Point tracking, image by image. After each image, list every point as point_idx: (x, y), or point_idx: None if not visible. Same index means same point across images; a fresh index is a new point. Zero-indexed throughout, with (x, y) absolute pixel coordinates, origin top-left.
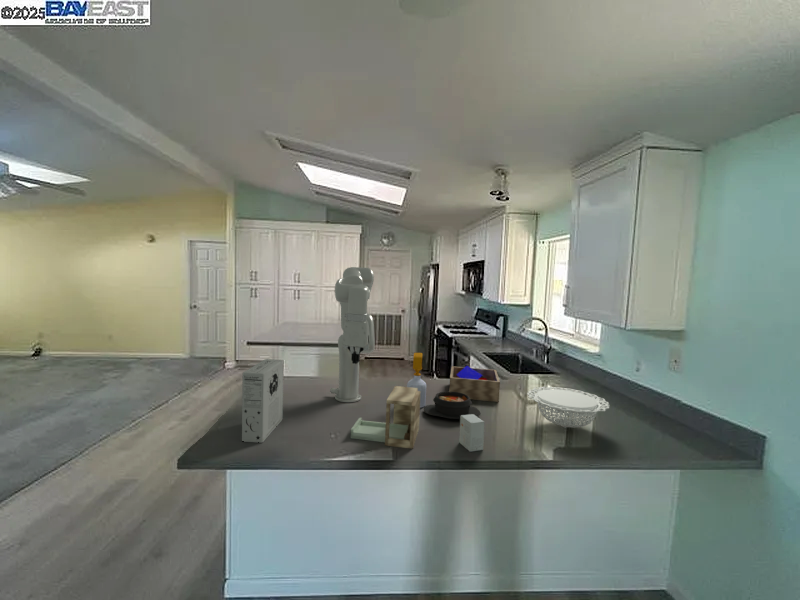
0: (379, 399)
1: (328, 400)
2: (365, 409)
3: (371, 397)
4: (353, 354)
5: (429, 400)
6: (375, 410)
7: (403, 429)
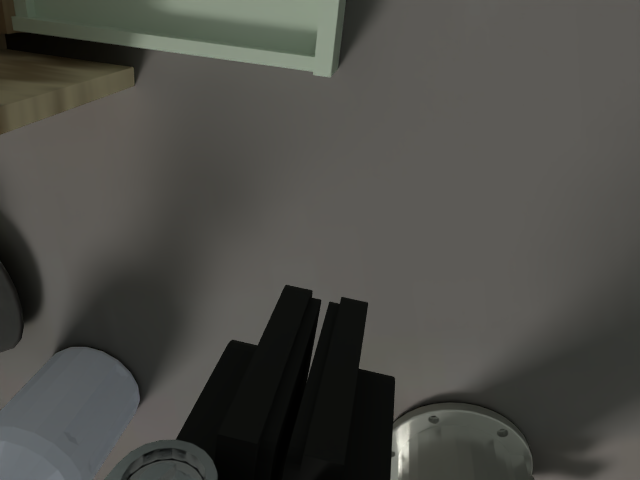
0: None
1: (568, 429)
2: None
3: None
4: (318, 444)
5: None
6: None
7: (49, 3)
